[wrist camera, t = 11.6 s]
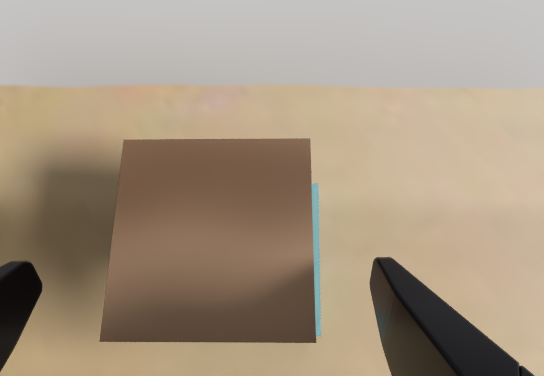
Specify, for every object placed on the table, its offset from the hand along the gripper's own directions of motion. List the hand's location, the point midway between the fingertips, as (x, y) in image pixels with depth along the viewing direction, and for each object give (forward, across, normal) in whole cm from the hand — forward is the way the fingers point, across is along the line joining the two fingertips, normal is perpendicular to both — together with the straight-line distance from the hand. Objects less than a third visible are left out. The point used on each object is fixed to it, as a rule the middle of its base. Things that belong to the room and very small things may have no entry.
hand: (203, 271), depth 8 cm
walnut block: (+9, 0, +7) cm, 11 cm away
